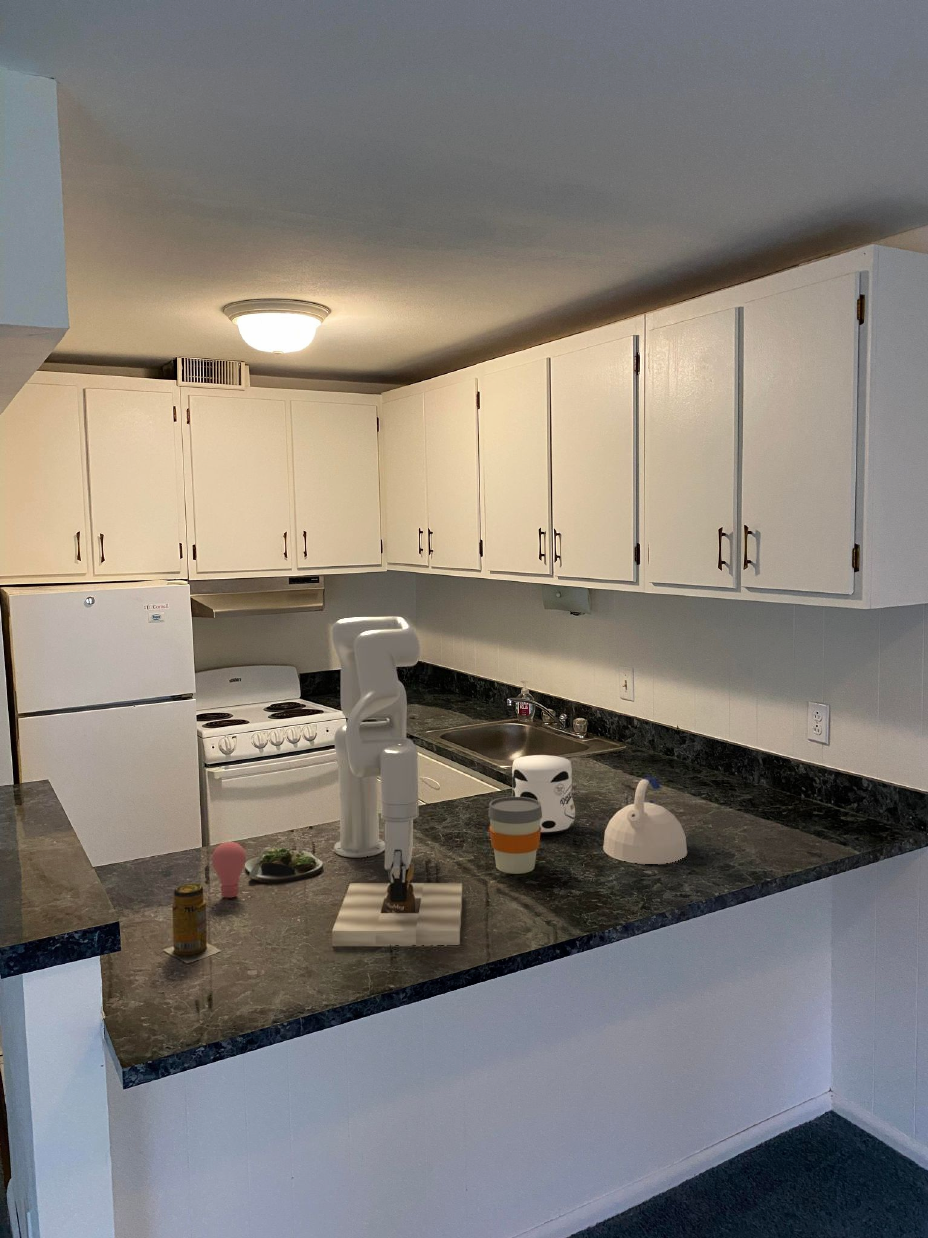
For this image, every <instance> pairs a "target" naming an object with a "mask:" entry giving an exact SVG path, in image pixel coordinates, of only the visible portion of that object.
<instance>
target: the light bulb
mask: <svg viewBox="0 0 928 1238" xmlns="http://www.w3.org/2000/svg"><path fill="white" fill-rule="evenodd" d="M246 862H247V855H246V851H245V849H244V848H243V847H242V846H241V845H240V844H239V843H237V842H234V841H227V842H223V843H221V844H219V845H217V847H216V848H215V849H214V851H213V852H212V856H211V865H212V867H213V869H214V870H215V873H216V874H217V876H218V877H219V883H220V885H221V886H220V892H221V896H222V897H223V898H230V899H231V898H235V897H237V896H238V895H239V883H240V876H241V873H242V872H243V871H244V867H245V863H246Z"/></svg>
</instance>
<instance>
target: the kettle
mask: <svg viewBox="0 0 928 1238" xmlns="http://www.w3.org/2000/svg"><path fill="white" fill-rule="evenodd" d="M649 784H650V785H651V788H652V789H655V790H657V789H660V788H661V785H660V783H659V782H658V780H656V778H654V777H648V776H647V777H643V778H641V779H640V780H639V782H638V784H637V787H636V790H635V794H634V802H633V803H631V804H628V805H626V806H624V807H622V808H621V809H620V810H618V811H616V813H615V814H614V815H613V816H612V817H611V819H610V820H609V821H608V823H607V826H606V828H605V830H604V838H603V839H604V840H603V846H602V848H603V852H605V853H606V855H607V856H609V857H610V858H613V859H616V860H619V861H622V862H624V861H626V862H625V863H630V864H635V863H637V865H645V864H658V865H667V864H666V863H668V864H673V863H676V862H679V861H681V860H683V859H684V858H685V857H686V856H687V854H688V849H687V838H686V834H685V831H684V829H683V826H682V824H681V822H680V821H679V820H678V818H677V817H676V816H675V814H673V813H672V812H671V811H669V810H668V809H666V808H665V807H663V806H661V805H659V804H656V803H654V801H653V800H651V799H650V800H649V801H648V802H645V797H646V791H647V788H648V785H649ZM682 858H683V859H682ZM680 859H681V860H680ZM678 860H679V861H678ZM675 861H676V862H675ZM672 862H673V863H672Z"/></svg>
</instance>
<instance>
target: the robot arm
mask: <svg viewBox="0 0 928 1238" xmlns="http://www.w3.org/2000/svg"><path fill="white" fill-rule="evenodd" d="M331 629H332V630H331V631H332V632H331V637H332V639H331V640H332V644H333V647H334V649H335V651H336V653H337V656H338V660H339V663H340V709H341V712H342V715H343V716H344V718H346V719H347V721H346V723H345V724H344V725H342V726H340V727H338V728H337V730H336V731H335V734H334V738H333V739H334V742H333V743H334V749H335V754H336V760H337V769H338V790H339V791H338V794H339V795H338V797H339V801H338V802H339V827H340V828H339V833H340V834H339V837H340V840H339V841H337V842H336V843H334V846H333V850H334V851H333V852H335V854H337V855H339V856H341V857H345V858H346V857H347V858H367V856H368V857H373V856H376V855H378V854H381V853H382V852H384V869H385V870H386V871H389V870H390V873H391V876H390V881H389V883H390V900H391V902H406V901H407V883H408V881H407V880H406V879H407V874H408V870H409V866H410V869H411V866H412V865H411V864H412V863H411V861H412V857H413V845H414V844H413V842H414V819H417V818H418V817H420V816H419V815H420V813H419V812H420V811H419V763H418V762H419V754H418V753H419V752H418V747H417V745H416V744H415V743H414V742H413V740H412V739H410V738H407V716H408V715H407V714H408V713H407V711H408V710H407V709H408V705H407V704H408V702H407V692H406V689H405V686H404V684H403V683H402V682H401V681H400V680H399V678H398V677H399V676H398V671H397V668H398V667H399V668H400V667H402V668H403V667H413V666H416V665H417V663H418V661H419V659H420V656H421V649H420V648H421V647H420V642H419V638H418V636H417V633H416V632H415V630H414V629H413V627H412V626H411V624H409V622H408V621H407V620H406V619H405V618H404V617H402V616H397V615H396V616H360V617H359V616H358V617H348V618H341V619H339V620H337V621H336V622H334V624H333V625H332V628H331ZM378 719H386V720H383V721H381V720H380V721H365V720H378ZM363 721H365V722H363ZM378 777H379V780H378ZM379 782H380V785H379ZM379 786H380V818H381V819H382V820H385V827H384V840H382V839H380V827H379V826H380V825H379V824H380V823H379ZM388 869H389V870H388ZM409 874H410V873H409ZM410 883H412V879H411V880H410Z"/></svg>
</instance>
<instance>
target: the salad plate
mask: <svg viewBox="0 0 928 1238" xmlns="http://www.w3.org/2000/svg"><path fill="white" fill-rule="evenodd" d="M244 867H245V869H246V871H247V872H249V875H248V878H250V879H251V880H255V881H257V882H259V883H264V884H282V883H289V882H295V881H299V880H304V879H309V878H312V877H314V876H316V875H317V874H319V873H320V872H321V871H322V870H323V867H324V863H323V861H322V860H320V859H319V858H317V857H316V856H315V855H313V854H312V853H311V852H309V851H305V850H298V849H297V850H288V849H287V848H285V847H281V848H279V849H274V848H270V850H268V849H263V850H261V852H260V853H259V856H258V857H254V858H251V859H249V860H246V862H245V865H244Z"/></svg>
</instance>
